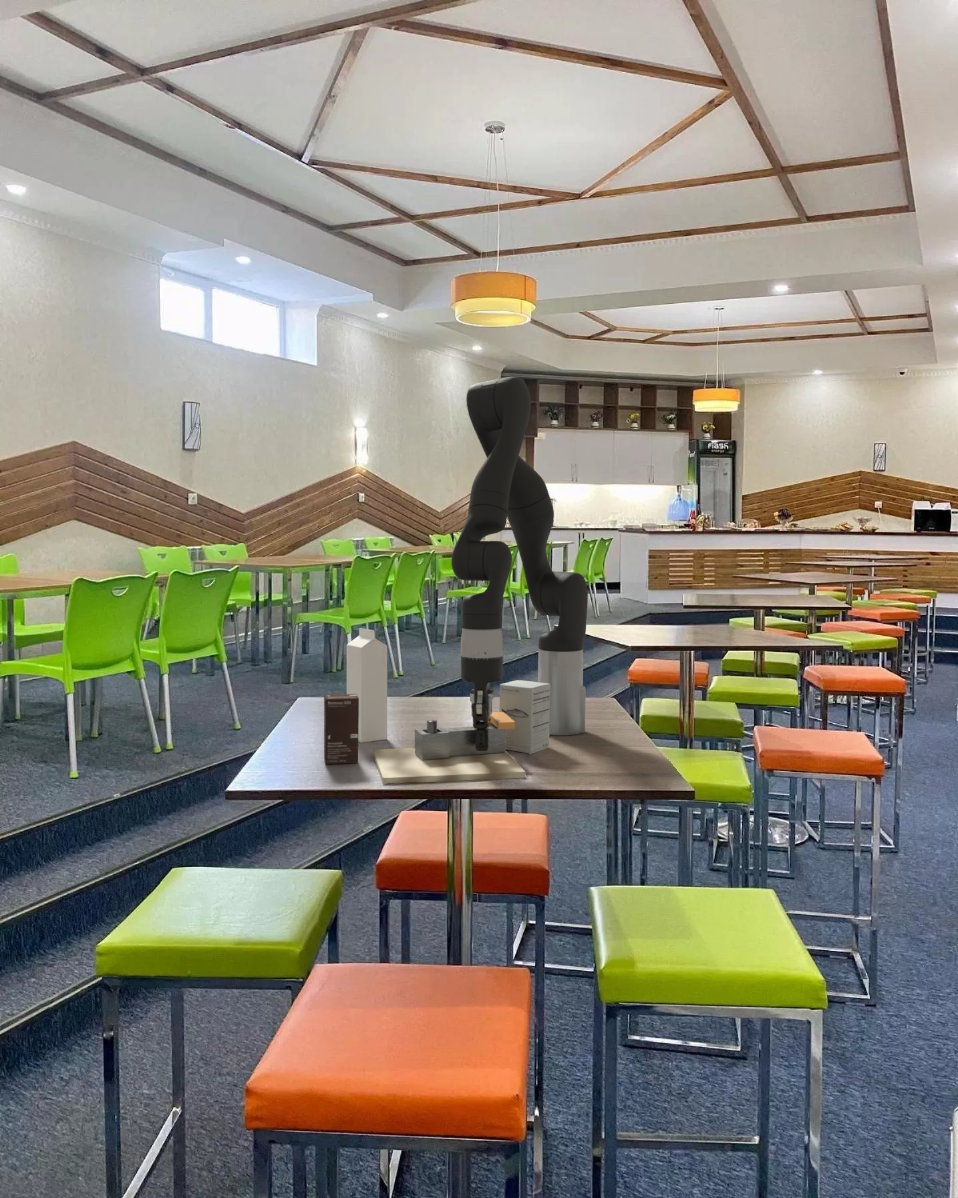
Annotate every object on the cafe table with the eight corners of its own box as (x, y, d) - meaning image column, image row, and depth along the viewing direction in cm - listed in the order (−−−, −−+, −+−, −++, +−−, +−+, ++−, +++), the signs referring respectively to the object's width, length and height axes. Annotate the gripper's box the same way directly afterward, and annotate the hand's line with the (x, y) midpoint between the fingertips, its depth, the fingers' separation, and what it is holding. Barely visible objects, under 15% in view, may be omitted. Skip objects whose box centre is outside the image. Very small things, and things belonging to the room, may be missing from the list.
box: (325, 765, 169) (325, 698, 168) (323, 760, 173) (323, 694, 172) (359, 764, 170) (359, 697, 169) (357, 758, 174) (356, 693, 174)
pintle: (442, 758, 174) (442, 718, 174) (445, 764, 170) (445, 722, 169) (418, 759, 173) (418, 719, 173) (421, 765, 169) (421, 723, 168)
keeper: (503, 751, 181) (503, 711, 180) (514, 763, 171) (515, 722, 170) (482, 751, 180) (482, 712, 179) (493, 764, 170) (493, 722, 170)
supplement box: (497, 749, 182) (498, 683, 181) (518, 742, 188) (518, 679, 187) (530, 754, 178) (531, 687, 177) (550, 747, 184) (551, 682, 183)
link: (422, 759, 168) (422, 734, 168) (414, 753, 173) (414, 729, 173) (507, 753, 173) (507, 728, 173) (497, 747, 178) (497, 723, 178)
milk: (361, 743, 187) (360, 631, 185) (346, 737, 192) (345, 628, 190) (388, 739, 191) (387, 629, 189) (372, 734, 196) (371, 627, 194)
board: (499, 749, 182) (499, 744, 181) (525, 777, 161) (525, 771, 161) (372, 754, 177) (372, 749, 177) (383, 784, 156) (383, 778, 156)
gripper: (500, 658, 162) (500, 759, 163) (505, 649, 175) (505, 742, 176) (456, 658, 163) (457, 758, 164) (464, 649, 176) (464, 741, 177)
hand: (481, 750), depth 170 cm, fingers closed
